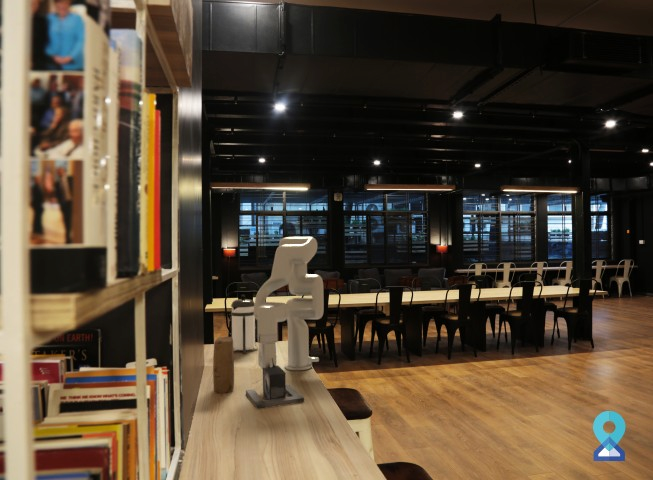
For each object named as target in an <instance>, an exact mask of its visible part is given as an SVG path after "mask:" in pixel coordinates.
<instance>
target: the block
mask: <svg viewBox="0 0 653 480" xmlns="http://www.w3.org/2000/svg"><path fill="white" fill-rule="evenodd" d="M234 350H235V349H234V348H233V338H232V336H222V337H221V336H219V337H217V338H216V339H215V341H214V344H213V356H212V357H213V359H212V360H213V362H212V367H213V369H212V375H213V377H212V380H213V382H212V383H213V391H214V392H215V393H219V394H226V393H230V392H232V391H234V388H235V387H234V386H235V351H234Z"/></svg>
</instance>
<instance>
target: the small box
mask: <svg viewBox="0 0 653 480" xmlns="http://www.w3.org/2000/svg"><path fill="white" fill-rule="evenodd" d="M286 374H287V373H286V372H285V370H284V369H282V368H281V366H279V365H277V364H276V367H275V366H273V367H268V368H263V369H262V392H263V393H262V395H263V396H264V398H265V399H266V400H271V399H278V398H285V397H287V394H286V385H287V384H286V383H287V382H286V376H287V375H286Z"/></svg>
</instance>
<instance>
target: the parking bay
mask: <svg viewBox="0 0 653 480" xmlns="http://www.w3.org/2000/svg"><path fill="white" fill-rule="evenodd" d="M245 395H246V396H247V398H249V400H250V402H251V403H252V405H254V407H255V408H256V410H259V409H266V407H267V408H272V406H274V407H279V405H281V406H286V405H293V404H300V403H304V402H305V397H304V396H303V395H302V394H301V393H299V391H297V390H296V389H295V388H294V387H293V386H291V385H290V384H286V397H285V398H278V399H271V400H267V399H266V400H264V399H263V398H262V397H261V396H260V395H259V394H258V392H257V391H256V390H255V389H254V388H253V389H246V390H245Z"/></svg>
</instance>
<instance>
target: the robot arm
mask: <svg viewBox="0 0 653 480" xmlns="http://www.w3.org/2000/svg"><path fill="white" fill-rule="evenodd" d="M278 245H279V246H278V247H277V248H276V251H275V254H274V259H273V264H272V269H271V275H270V277H269V279H267V280H266V281H265V282H264V283H263V284H262V285H261V286H260V288H259V290H258V291H257V293H256V295H255V299H254V300H255V301H254V317H255V320H256V319H257V320H258V336H257V343H258V353H257V355H258V357H257V358H258V359H257V360H258V361H257V364H258V367H260V368H261V369H262V370H263V368H268V367H273V366H275V367H276V366H277V348H276V347H277V343H278V337H279V336H278V323H283V322H285V321H286V322H287V362H286V363H285V364H284V369H286V370H289V371H306V370H310V369H312V367H313V363H317V362H318V363H319V361H320V358H319V357H318V356H317V357H316V356H309V354H310V350H309V349H310V348H309V346H310V345H309V343H310V341H309V339H310V337H309V336H310V335H309V333H310V332H309V331H310V330H309V326H308V324H307V322H306V321H305V320H320V319H322V317H323V315H324V309H325V308H324V305H325V304H324V302H325V301H324V300H325V299H324V282H323V278H322V276H321V275H319V274H317V273H316V274H311V273H310V274H309V273H308V263H309V262H310V261H311V260H312V258H313V257H315V255H316V253H317V251H318V241H317V239H316V237H315V238H314V237H313V236H287V237H282V238H281V239H279V243H278ZM285 286H288V290H289V294H291V295H296V296H311V297H312V298H311V297H310V298H309V297H292V298H289V299H288V300H287V301H286V303H285V302H278V301H277V302H275V301H272V302H271V301H266V300H267V298H268V296H270V294H272V293H273V292H274V291H277V290H278V289H281V288H282V287H283V288H284V287H285Z"/></svg>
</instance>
